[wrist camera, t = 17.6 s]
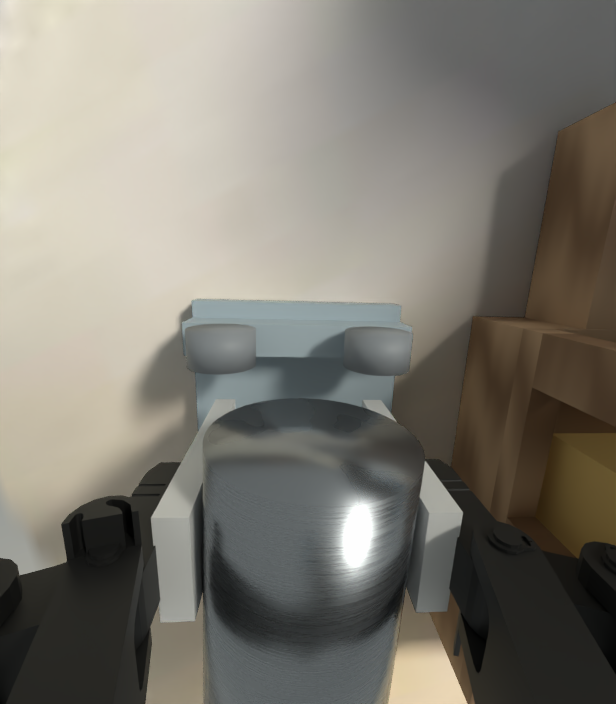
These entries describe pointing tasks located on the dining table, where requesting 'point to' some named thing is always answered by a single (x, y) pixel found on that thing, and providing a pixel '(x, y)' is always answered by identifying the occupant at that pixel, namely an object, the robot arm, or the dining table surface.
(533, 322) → the wooden fixture
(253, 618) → the silver metal cylinder
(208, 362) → the cradle
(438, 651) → the dining table surface
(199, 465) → the robot arm
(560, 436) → the yellow block
